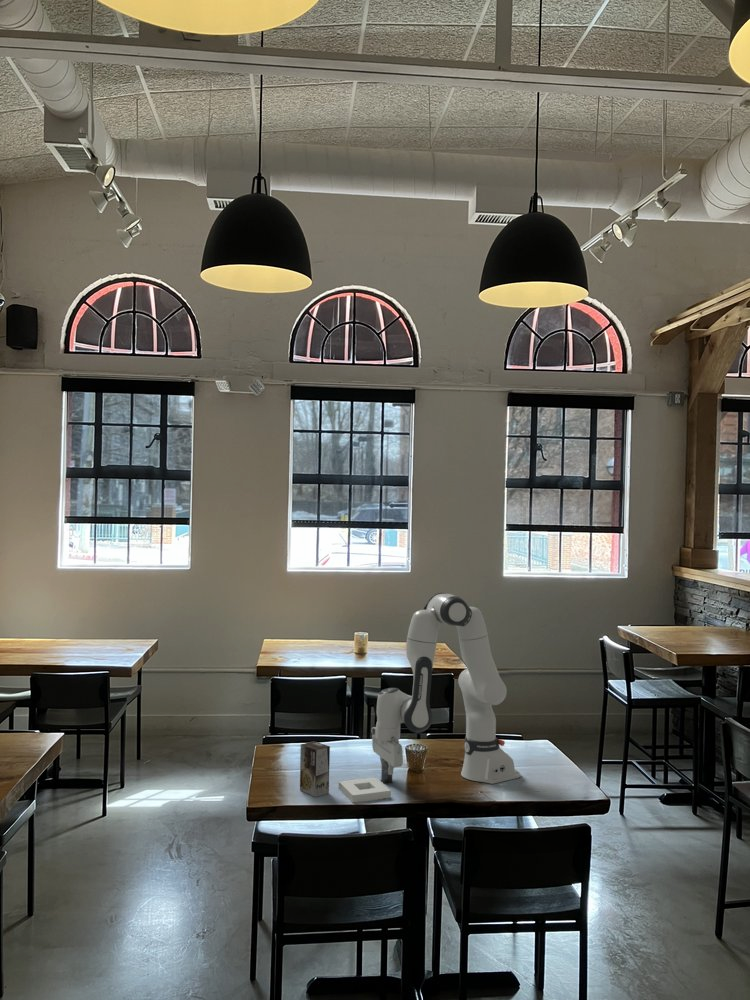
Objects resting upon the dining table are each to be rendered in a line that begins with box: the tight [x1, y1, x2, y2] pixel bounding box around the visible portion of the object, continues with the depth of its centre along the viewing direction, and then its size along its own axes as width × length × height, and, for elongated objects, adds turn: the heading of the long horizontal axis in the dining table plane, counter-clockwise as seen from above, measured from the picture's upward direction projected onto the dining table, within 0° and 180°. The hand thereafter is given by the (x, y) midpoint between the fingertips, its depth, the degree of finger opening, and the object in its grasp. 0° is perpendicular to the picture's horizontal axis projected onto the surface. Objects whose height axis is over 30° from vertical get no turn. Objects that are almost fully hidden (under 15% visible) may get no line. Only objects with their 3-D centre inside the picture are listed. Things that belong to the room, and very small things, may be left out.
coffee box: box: [299, 740, 331, 798], centre depth 260 cm, size 9×6×16 cm
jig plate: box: [338, 776, 392, 803], centre depth 260 cm, size 14×14×2 cm
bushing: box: [380, 759, 393, 785], centre depth 272 cm, size 4×4×8 cm
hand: (387, 771), depth 272 cm, fingers closed on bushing, 4 cm apart
